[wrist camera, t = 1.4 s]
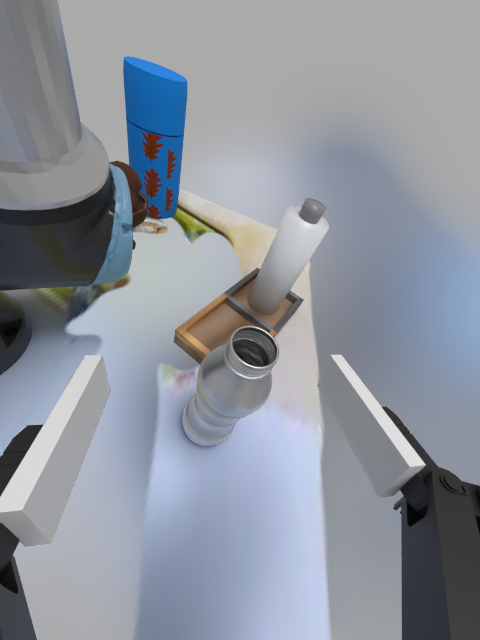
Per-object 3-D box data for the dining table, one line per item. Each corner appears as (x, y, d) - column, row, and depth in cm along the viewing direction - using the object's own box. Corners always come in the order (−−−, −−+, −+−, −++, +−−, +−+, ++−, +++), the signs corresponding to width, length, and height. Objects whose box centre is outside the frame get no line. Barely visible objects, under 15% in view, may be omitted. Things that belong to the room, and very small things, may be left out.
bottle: (241, 300, 45) (286, 196, 30) (258, 286, 49) (305, 188, 34) (267, 320, 44) (328, 222, 29) (283, 304, 48) (342, 210, 33)
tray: (173, 342, 37) (175, 329, 35) (252, 279, 53) (257, 267, 50) (231, 390, 35) (238, 381, 33) (295, 310, 51) (303, 300, 48)
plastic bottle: (187, 394, 33) (217, 300, 18) (233, 405, 34) (297, 324, 19) (173, 443, 29) (196, 374, 14) (225, 455, 30) (300, 401, 15)
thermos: (139, 191, 62) (134, 54, 43) (180, 203, 64) (192, 78, 45) (125, 210, 55) (112, 57, 36) (171, 224, 57) (181, 85, 38)
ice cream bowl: (106, 222, 50) (93, 141, 39) (157, 239, 52) (159, 165, 41) (77, 249, 44) (51, 159, 32) (137, 268, 45) (132, 188, 34)
